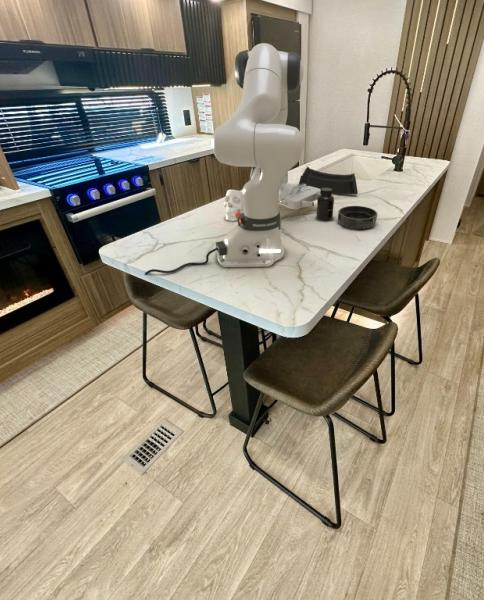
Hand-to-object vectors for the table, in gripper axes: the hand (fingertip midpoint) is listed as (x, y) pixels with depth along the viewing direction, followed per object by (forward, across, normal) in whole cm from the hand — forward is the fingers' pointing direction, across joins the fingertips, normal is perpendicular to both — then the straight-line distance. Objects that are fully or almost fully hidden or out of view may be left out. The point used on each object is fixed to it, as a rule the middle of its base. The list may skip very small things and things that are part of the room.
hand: (319, 201), depth 133 cm
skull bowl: (-29, -18, +7) cm, 35 cm away
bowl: (+16, +3, +6) cm, 18 cm away
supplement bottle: (+3, 0, +7) cm, 7 cm away
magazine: (-14, +31, +7) cm, 35 cm away
